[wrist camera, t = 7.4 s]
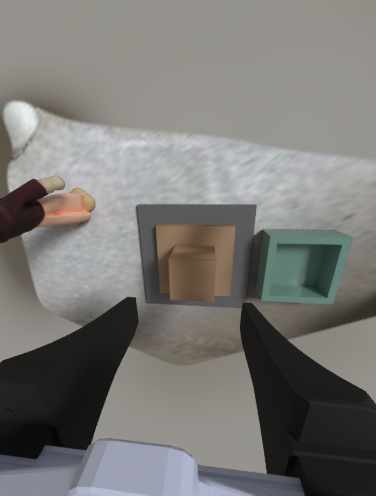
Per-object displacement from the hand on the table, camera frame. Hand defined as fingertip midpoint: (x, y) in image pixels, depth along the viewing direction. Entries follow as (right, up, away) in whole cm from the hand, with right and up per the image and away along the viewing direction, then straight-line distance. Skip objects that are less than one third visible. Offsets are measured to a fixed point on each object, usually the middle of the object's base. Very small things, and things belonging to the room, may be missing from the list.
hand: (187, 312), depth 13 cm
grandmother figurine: (-12, +9, +8) cm, 17 cm away
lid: (+1, +3, +8) cm, 9 cm away
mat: (+1, +3, +9) cm, 9 cm away
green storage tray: (+11, +3, +8) cm, 14 cm away
